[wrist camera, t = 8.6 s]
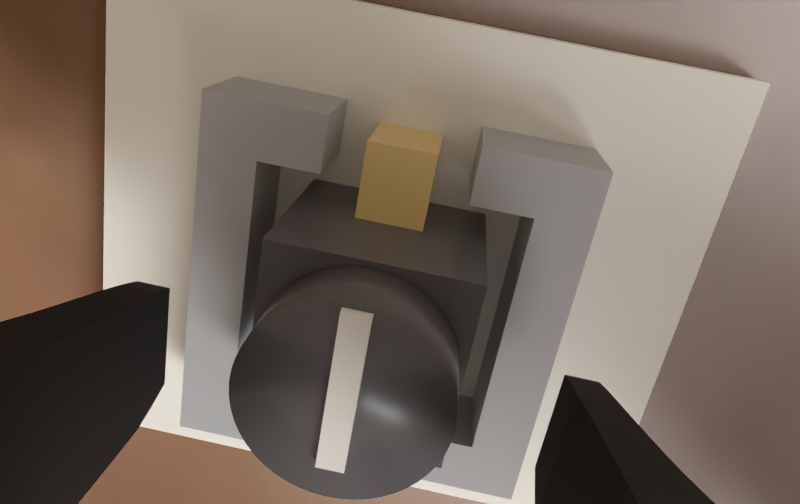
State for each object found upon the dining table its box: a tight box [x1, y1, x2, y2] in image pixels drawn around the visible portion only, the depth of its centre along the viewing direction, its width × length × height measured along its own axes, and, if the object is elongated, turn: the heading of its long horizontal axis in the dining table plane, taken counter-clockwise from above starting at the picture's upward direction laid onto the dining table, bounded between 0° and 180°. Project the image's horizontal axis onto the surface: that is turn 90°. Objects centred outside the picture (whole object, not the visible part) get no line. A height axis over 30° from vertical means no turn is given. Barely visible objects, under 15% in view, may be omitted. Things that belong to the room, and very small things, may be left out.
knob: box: [229, 122, 488, 499], centre depth 13 cm, size 6×4×6 cm
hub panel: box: [103, 0, 771, 504], centre depth 15 cm, size 14×12×3 cm
